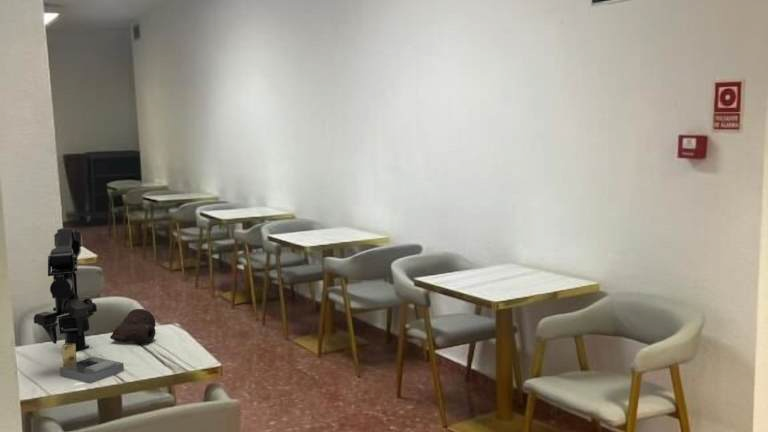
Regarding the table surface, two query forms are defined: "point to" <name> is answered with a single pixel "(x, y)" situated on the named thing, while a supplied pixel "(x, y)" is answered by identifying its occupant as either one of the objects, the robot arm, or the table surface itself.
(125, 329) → the dark brown rounded lump
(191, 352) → the table surface
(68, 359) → the tan rectangular block
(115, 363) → the metal square frame
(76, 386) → the table surface
